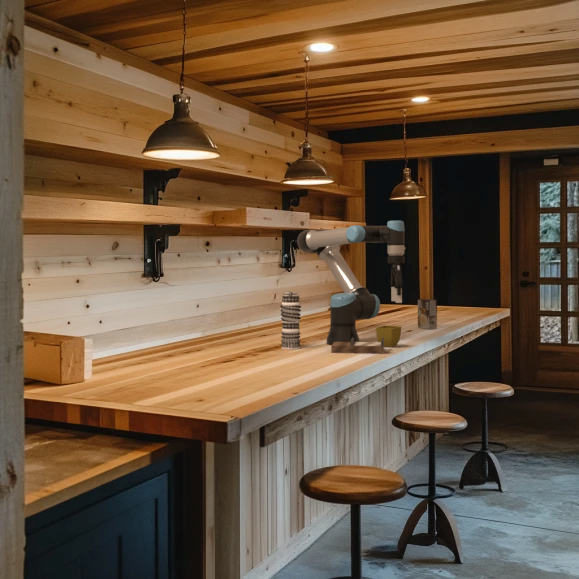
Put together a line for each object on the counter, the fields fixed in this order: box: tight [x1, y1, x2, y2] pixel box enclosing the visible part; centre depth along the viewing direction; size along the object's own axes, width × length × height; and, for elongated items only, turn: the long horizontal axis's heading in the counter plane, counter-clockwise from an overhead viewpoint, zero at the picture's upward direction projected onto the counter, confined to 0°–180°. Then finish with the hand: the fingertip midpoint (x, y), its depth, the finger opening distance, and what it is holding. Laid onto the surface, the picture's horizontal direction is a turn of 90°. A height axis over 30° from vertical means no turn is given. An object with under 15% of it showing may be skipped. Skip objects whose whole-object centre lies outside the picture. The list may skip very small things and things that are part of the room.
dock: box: [330, 337, 385, 355], centre depth 319 cm, size 22×14×5 cm, turn 82°
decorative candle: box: [280, 291, 302, 350], centre depth 327 cm, size 9×9×25 cm
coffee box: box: [417, 298, 438, 330], centre depth 407 cm, size 9×6×16 cm
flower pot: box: [375, 325, 402, 348], centre depth 333 cm, size 9×9×9 cm
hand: (396, 302), depth 335 cm, fingers open, 13 cm apart
